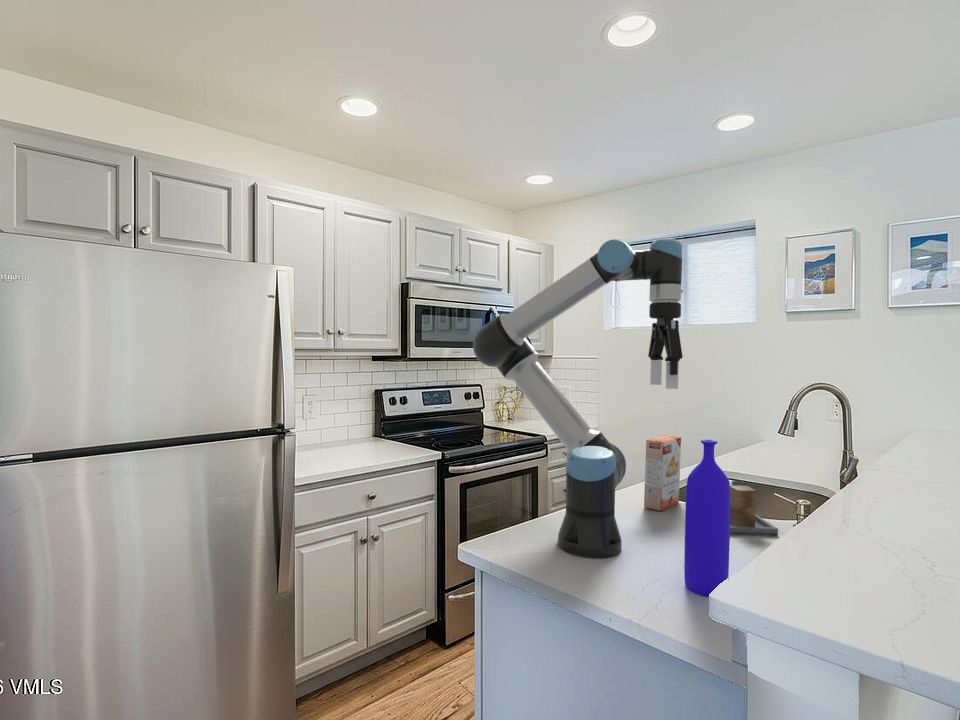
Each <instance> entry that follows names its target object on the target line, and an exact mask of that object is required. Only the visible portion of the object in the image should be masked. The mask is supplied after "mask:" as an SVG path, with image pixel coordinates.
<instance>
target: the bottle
mask: <svg viewBox="0 0 960 720" xmlns="http://www.w3.org/2000/svg"><path fill="white" fill-rule="evenodd" d="M700 443H701V444H703V455H702V456H703V457H702V459H701V461H700V462H699V464H697V465H696V466H695V467H694V468H693V469H692V470H691V472H690V473H689V474H688V476H687V480H686V491H685V509H684V510H685V516H684V563H683V565H684V567H683V568H684V569H683V570H684V585H685V587H686V588H687V590H689V591H690V592H691V593H694V594H696V595H699V596H702V597H708V596H709V594H710V593H711V592H712V591H713V590H714V589H715V588H716V587H717V586H718V585H719V584H720V583H722V582H723V581H724V580H726V579H727V578H728V579H729V571H730V569H729V568H730V545H731V544H730V542H731V541H730V540H731V537H730V536H731V534H730V480H729V478H728V476H727V475H726V473H725V472H724V470H723V469H722V468H721V467H720V466H719V465H718V464H717V461H716V459H715V446H716V445H717V444H718V441H717V440H714V439H701V440H700ZM708 598H709V597H708Z"/></svg>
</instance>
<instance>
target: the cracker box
mask: <svg viewBox="0 0 960 720" xmlns="http://www.w3.org/2000/svg"><path fill="white" fill-rule="evenodd" d="M681 452H682V437H679V436H676V435H667V434H666V435H664V434H663V435H662V436H658V437H653V438H649V439H646V441H645V467H644V470H645V471H644V473H645V474H644V494H643V495H644V496H643V498H644V500H643V501H644V502H643V508H644V509H648V510H653V511H657V512H663V511H665V510H666V509H668V508H670V507H672V506H674V505H676V504H678V503H679V502H680V501H679V500H680V482H681V481H680V478H681V455H682V454H681Z"/></svg>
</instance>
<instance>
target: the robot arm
mask: <svg viewBox="0 0 960 720" xmlns="http://www.w3.org/2000/svg"><path fill="white" fill-rule="evenodd" d="M650 243H651V244H650V247H649V249H643V250H642V249H641V250H633V248H632V246H631V245H629V244H628V243H627V242H625V241H623V240H621V239H617V238H616V239H615V238H613V239H608V240H607V241H605V242H604V243H602V245H601V246H600V247H599V249H598V252H596V253H595V254H593V255H592V256H591V257H590V258H588V259H586V260H585V261H584V262H582V263H580V264H579V265H577V266H576V267H575V268H573V269H572V270H570V271H569V272H567V273H566V274H565V275H563V276H562V277H560V278H559V279H557V280H556V281H554V282H553V283H551V284H550V285H548V286H547V287H546V288H544V289H543V290H541V291H540V292H539V293H537V294H536V295H534V296H532V297H531V298H529V299H528V300H527V301H526V302H524V303H522V304H521V305H519V306H518V307H516V308H515V309H514V310H512V311H511V312H509V313H508V314H507V313H506V314H505V313H501V314H499V315H498V316H496V317H494V318H493V319H492V320H490V321H489V322H487V323H486V324H485V325H483V326H482V327H481V328H480V329H479V330H477V331H476V333H475V336H474V338H473V341H472V350H473V353H474V356H475V357H476V359H477V360H478V361H479V362H480V363H481V364H483V365H485V366H487V367H492V368H497V370H498V371H499V372H500V374H502V377H504V379H505V380H508V381H514V383H515V384H516V386H518V388H519V389H520V390H521V392H522V393H523V395H524V396H525V397H526V398H527V400H528V401H529V402H530V404H531V405H532V406H533V407H534V408H535V410H536V411H537V413H538V414H539V415H540V417H542V419H543V420H544V421H545V423H546V424H547V425H548V427H549V428H550V430H552V431H553V433H554V435H555V436H556V437H557V438H558V439H559V441H560V442H561V443H562V445H563V446H564V447H565V449H566V461H565V470H566V472H565V473H566V475H565V478H566V479H565V514H564V515H563V516H564V517H563V520H562V523H561V526H560V528H559V531H558V534H557V537H558V538H557V545H558V547H559V548H560V549H561V550H563V551H565V552H567V553H569V554H571V555H575V556H579V557H584V558H595V559H599V558H600V559H601V558H610V557H613V556H616V555H618V554H620V552H622V542H623V541H622V537H621V536H622V535H621V534H620V533H621V532H620V529H619V528H618V524H617V520H616V517H615V516H616V515H615V513H616V512H615V507H616V503H615V502H616V488H617V487H618V485H619V484H620V483H621V482H622V481H623V480H624V477H625V474H626V470H627V462H626V457H625V455H624V453H623V451H622V450H621V449H620V448H619V447H618V446H616V445H615V444H613V443H612V442H609V440H608V439H607V438H606V437H605V436H604V434H603V433H602V432H601V431H600V430H594V429H592V428H591V427H590V426H589V424H588V423H587V422H586V420H585V419H584V418H583V417H582V415H581V414H580V413H579V412H578V411H577V409H576V408H575V407H574V405H573V404H572V403H571V402H570V400H569V399H568V398H567V397H566V395H565V394H564V393H563V392H562V390H561V389H560V388H559V387H558V386H557V384H556V383H555V381H554V380H553V379H552V378H551V376H550V375H549V374H548V373H547V371H546V370H545V369H544V368H543V367H542V365H541V364H540V363H539V361H538V360H539V353H538V352H537V350H536V349H535V348H534V347H533V345H532V340H531V338H530V336H531V335H532V334H533V333H534V332H536V331H537V330H539V329H541V328H542V327H544V326H546V325H547V324H548V323H550V322H551V321H553V320H555V319H556V318H558V317H559V316H560V315H562V314H564V313H565V312H566V311H568V310H569V309H572V308H573V307H575V306H576V305H577V304H579V303H580V302H582V301H584V299H586V298H587V297H590V295H592V294H593V293H595V292H597V291H598V290H600V289H602V288H603V287H604V286H606V285H608V284H609V283H611V282H616V283H617V282H620V281H621V282H623V281H639V280H640V281H642V280H644V281H647V280H649V299H648V300H649V302H651V303H650V304H649V315H648V316H649V318H651V319H656V322H652V323H651V324H652V325H651V326H652V328H651V336H650V341H649V342H650V343H649V349H648V354H647V356H648V358H649V359H650V381H649V382H650V384H649V385H650V386H651V385H652V386H654V385H655V386H658V385H659V386H661V385H662V378H663V377H662V375H663V374H662V373H663V371H662V370H663V366H662V364H663V360H664V362H666V364H665V389H669V390H670V389H672V390H673V389H674V390H678V389H679V368H680V367H679V365H680V364H679V362H680V359H681V360H682V359H683V358H684V357H683V352H682V343H681V337H680V331H679V329H680V327H679V326H680V325H679V323H680V322H679V320H674V319H679V318H681V316H682V304H681V303H680V301H681V300H682V294H683V293H684V290H683V289H682V280H683V279H682V276H683V245H682V243H681V241H680V240H678V239H671V238H670V239H668V238H667V239H665V238H664V239H660V240H659V239H658V240H654V241H652V242H650ZM664 349H665V352H666V357H665V359H664V357H663V356H662V354H663V351H664Z"/></svg>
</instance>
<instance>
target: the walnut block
mask: <svg viewBox="0 0 960 720" xmlns="http://www.w3.org/2000/svg"><path fill="white" fill-rule="evenodd" d="M756 501H757V491H756V490H755V489H753V488H752V487H750V486H749V485H733V484H732V485H730V523H731V524H733V525H734V526H740V527H755V514H756V503H757V502H756Z"/></svg>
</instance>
